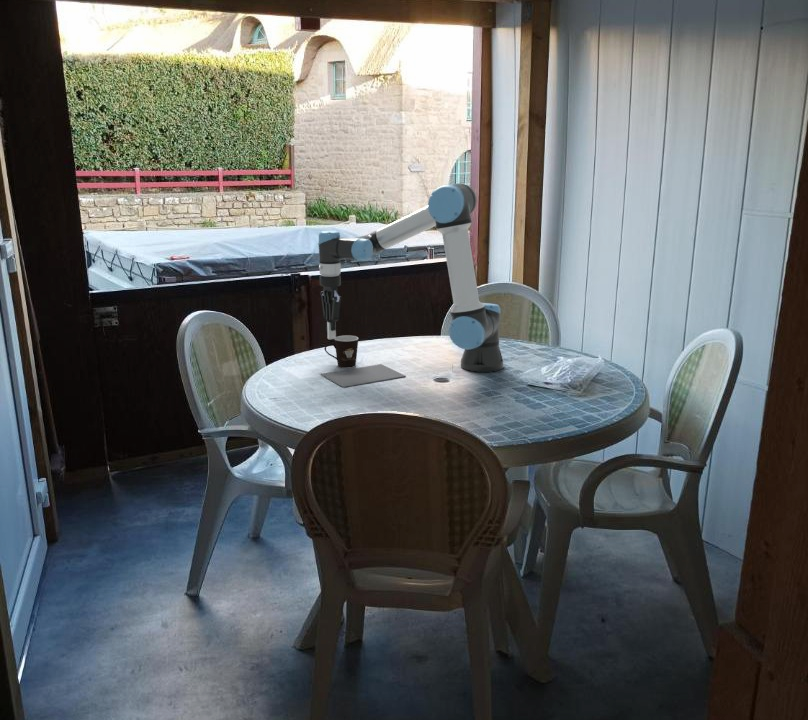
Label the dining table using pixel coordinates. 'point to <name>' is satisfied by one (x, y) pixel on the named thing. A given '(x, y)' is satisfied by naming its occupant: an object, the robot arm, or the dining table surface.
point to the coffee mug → (345, 350)
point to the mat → (362, 375)
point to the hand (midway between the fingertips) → (331, 338)
